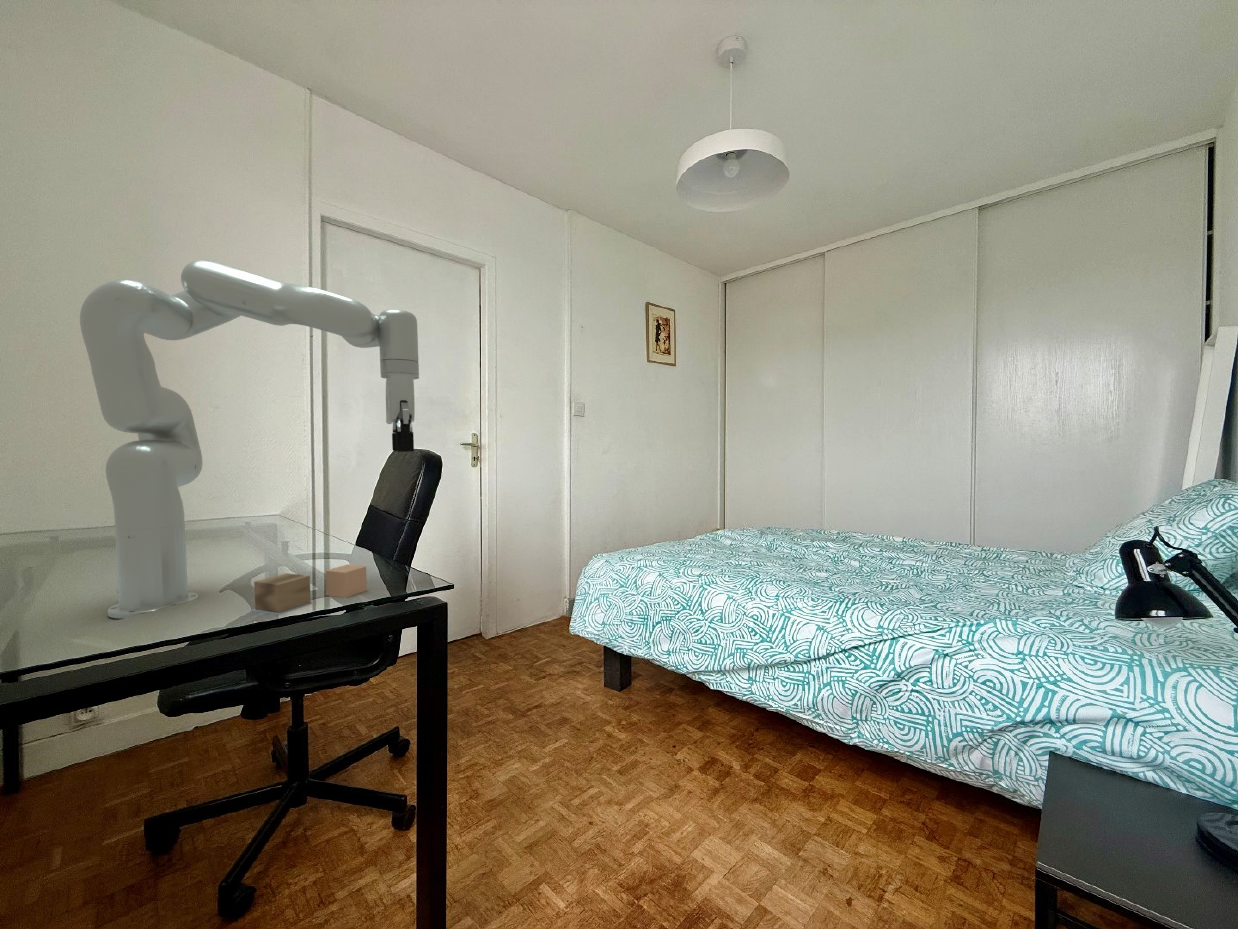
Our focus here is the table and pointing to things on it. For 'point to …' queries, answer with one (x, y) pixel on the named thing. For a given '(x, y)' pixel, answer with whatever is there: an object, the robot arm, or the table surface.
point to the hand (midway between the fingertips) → (402, 451)
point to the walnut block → (282, 592)
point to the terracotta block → (346, 580)
